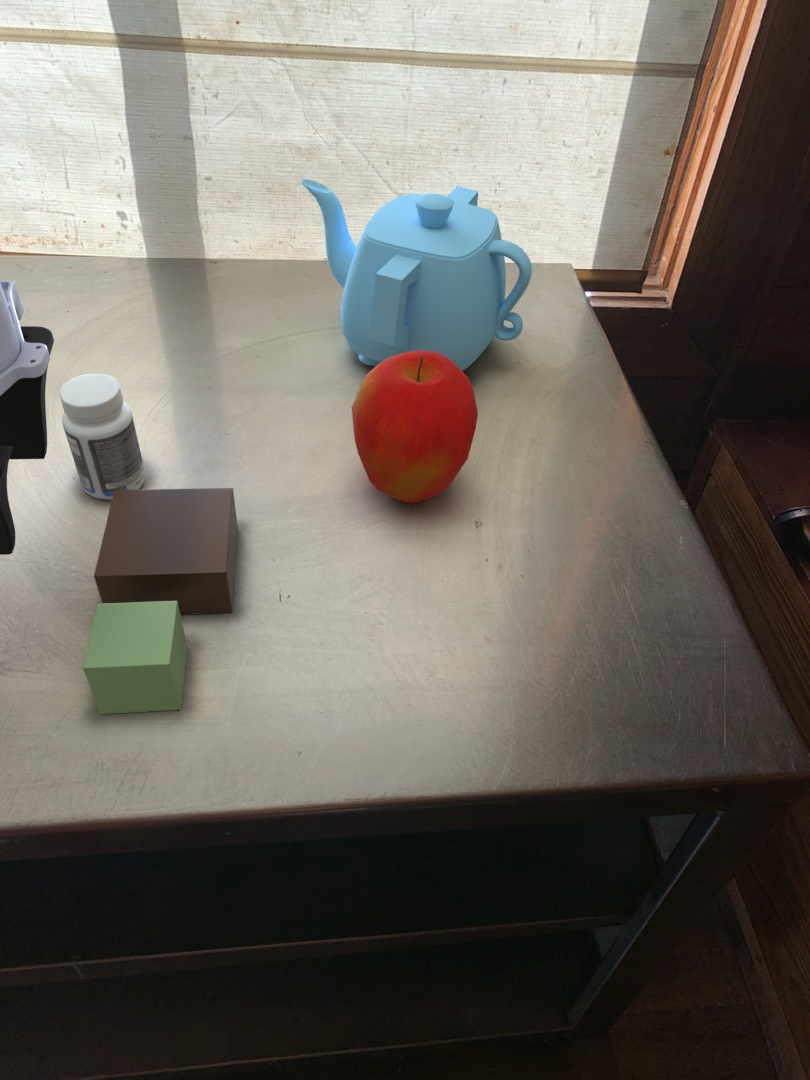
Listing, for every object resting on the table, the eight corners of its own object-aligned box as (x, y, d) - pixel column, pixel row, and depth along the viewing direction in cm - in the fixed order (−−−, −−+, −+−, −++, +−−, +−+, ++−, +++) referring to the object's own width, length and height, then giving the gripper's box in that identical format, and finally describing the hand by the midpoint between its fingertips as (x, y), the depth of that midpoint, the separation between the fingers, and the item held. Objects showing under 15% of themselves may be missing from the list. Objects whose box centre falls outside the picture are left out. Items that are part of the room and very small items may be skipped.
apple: (394, 437, 66) (402, 307, 58) (487, 480, 63) (511, 349, 55) (326, 496, 61) (325, 361, 52) (425, 546, 57) (441, 411, 49)
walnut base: (106, 617, 51) (93, 576, 48) (124, 531, 57) (113, 489, 54) (232, 613, 52) (226, 572, 49) (238, 528, 58) (233, 487, 55)
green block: (100, 714, 46) (82, 668, 43) (112, 650, 49) (96, 603, 46) (181, 710, 47) (169, 664, 43) (187, 647, 50) (177, 600, 46)
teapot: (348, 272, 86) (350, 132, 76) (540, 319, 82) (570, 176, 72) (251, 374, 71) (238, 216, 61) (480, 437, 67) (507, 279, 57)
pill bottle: (154, 464, 62) (135, 373, 56) (134, 505, 59) (111, 412, 53) (95, 458, 62) (69, 366, 56) (71, 497, 59) (41, 404, 53)
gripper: (-29, 357, 29) (60, 597, 39) (52, 197, 39) (108, 419, 49) (-238, 357, 28) (-93, 603, 38) (-99, 194, 38) (-13, 420, 48)
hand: (11, 500), depth 43 cm, fingers open, 7 cm apart
